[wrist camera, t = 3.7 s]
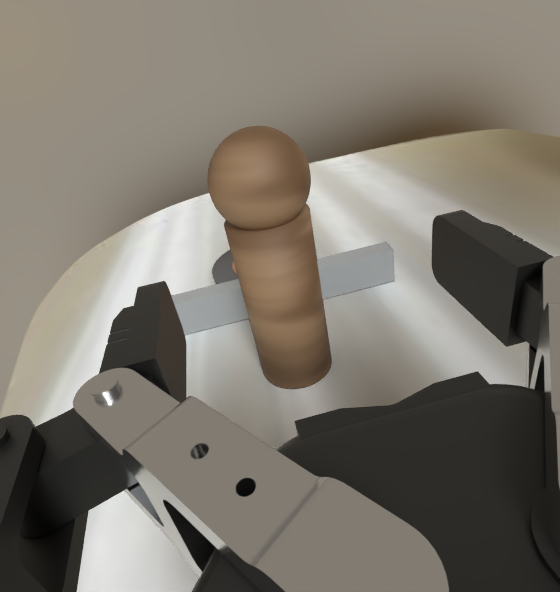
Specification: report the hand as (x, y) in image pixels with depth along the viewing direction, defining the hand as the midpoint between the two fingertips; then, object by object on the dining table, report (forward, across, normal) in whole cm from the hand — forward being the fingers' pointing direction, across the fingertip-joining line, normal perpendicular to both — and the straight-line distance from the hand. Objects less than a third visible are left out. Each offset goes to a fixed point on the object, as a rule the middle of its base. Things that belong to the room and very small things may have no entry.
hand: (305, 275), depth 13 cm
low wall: (+19, 0, +13) cm, 23 cm away
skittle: (+12, 0, +13) cm, 18 cm away
